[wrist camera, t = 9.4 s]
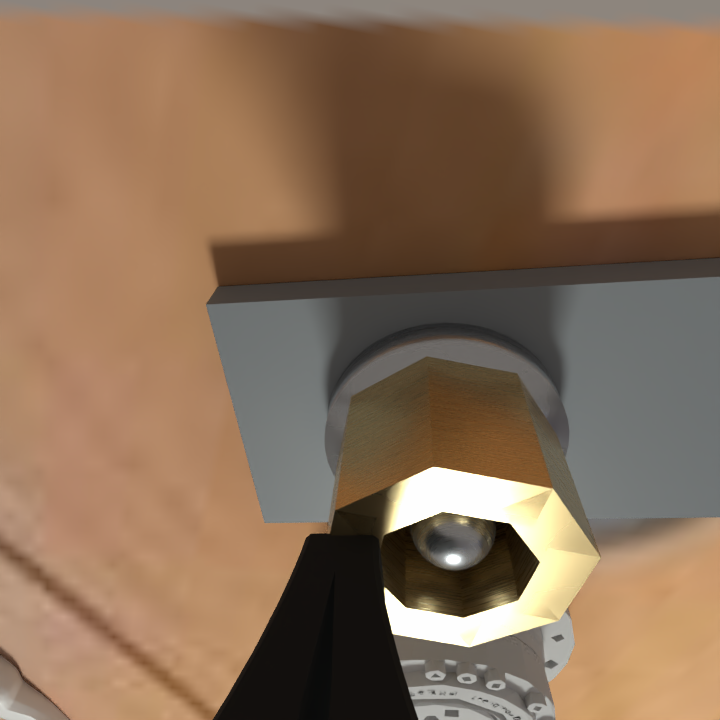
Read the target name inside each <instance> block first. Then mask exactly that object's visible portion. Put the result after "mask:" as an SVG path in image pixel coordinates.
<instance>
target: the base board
mask: <svg viewBox="0 0 720 720" xmlns="http://www.w3.org/2000/svg"><path fill="white" fill-rule="evenodd" d="M206 306H207V310H208V314H209V317H210V321H211V325H212V329H213V332H214V336H215V340H216V343H217V347H218V351H219V355H220V358H221V362H222V366H223V370H224V373H225V377H226V381H227V384H228V388H229V392H230V396H231V399H232V403H233V407H234V411H235V414H236V418H237V422H238V425H239V429H240V433H241V437H242V440H243V444H244V448H245V452H246V455H247V459H248V463H249V466H250V470H251V474H252V478H253V481H254V485H255V489H256V493H257V496H258V500H259V504H260V507H261V511H262V515H263V519H264V522H265V523H298V522H328V521H329V514H330V508H331V501H332V495H333V488H334V482H335V476H334V475H333V473H332V471H331V468H330V466H329V464H328V461H327V457H326V453H325V443H324V436H325V427H326V421H327V415H328V410H329V404H330V400H331V396H332V392H333V390H334V387H335V385H336V383H337V381H338V379H339V377H340V376H341V374H342V373H343V371H344V370H345V368H346V367H347V366H348V365H349V364H350V363H351V361H352V360H353V359H354V358H355V357H356V356H358V355H359V354H360V353H361V352H362V351H363V350H365V349H366V348H367V347H369V346H370V345H372V344H373V343H375V342H376V341H378V340H380V339H382V338H384V337H386V336H388V335H390V334H392V333H395V332H398V331H401V330H404V329H407V328H411V327H415V326H420V325H425V324H434V323H462V324H470V325H476V326H480V327H484V328H488V329H491V330H494V331H496V332H499V333H502V334H504V335H506V336H508V337H510V338H512V339H514V340H516V341H517V342H519V343H520V344H522V345H523V346H524V347H526V348H527V349H529V350H530V351H531V352H532V353H533V354H534V355H535V356H536V357H537V358H538V359H539V360H540V361H541V362H542V364H543V365H544V366H545V368H546V369H547V371H548V372H549V374H550V376H551V378H552V380H553V382H554V384H555V387H556V389H557V391H558V394H559V396H560V398H561V401H562V403H563V406H564V408H565V411H566V415H567V418H568V424H569V432H570V433H569V446H568V450H567V454H566V458H565V459H566V462H567V464H568V467H569V470H570V473H571V476H572V478H573V481H574V484H575V487H576V489H577V492H578V495H579V498H580V501H581V503H582V506H583V509H584V512H585V514H586V517H587V519H616V518H696V517H720V258H708V259H691V260H673V261H656V262H639V263H621V264H604V265H586V266H569V267H552V268H534V269H517V270H499V271H482V272H464V273H447V274H430V275H412V276H395V277H377V278H360V279H342V280H325V281H308V282H290V283H273V284H255V285H238V286H220V287H217V289H216V290H215V292H214V293H213V295H212V296H211V298H210V299H209V301H208V302H207V304H206Z"/></svg>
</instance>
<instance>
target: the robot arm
mask: <svg viewBox="0 0 720 720" xmlns="http://www.w3.org/2000/svg"><path fill="white" fill-rule="evenodd" d="M213 720H418V717H417V714H416V711H415V708H414V705H413V702H412V698H411V695H410V692H409V689H408V686H407V682H406V679H405V676H404V673H403V669H402V666H401V662H400V659H399V655H398V652H397V648H396V644H395V640H394V636H393V632H392V628H391V624H390V620H389V616H388V612H387V607H386V602H385V591H384V579H383V569H382V560H381V550H380V544H379V539H378V538H377V537H375V536H374V535H330V534H310V535H309V536H308V537H307V538H306V540H305V542H304V545H303V548H302V550H301V553H300V556H299V558H298V560H297V563H296V565H295V568H294V570H293V572H292V575H291V577H290V579H289V581H288V583H287V586H286V588H285V590H284V592H283V594H282V596H281V598H280V600H279V603H278V605H277V607H276V609H275V610H274V612H273V614H272V616H271V618H270V620H269V622H268V624H267V626H266V628H265V630H264V632H263V634H262V636H261V638H260V640H259V642H258V644H257V645H256V647H255V649H254V651H253V653H252V654H251V656H250V658H249V660H248V661H247V663H246V665H245V667H244V668H243V670H242V672H241V674H240V675H239V677H238V679H237V680H236V682H235V684H234V686H233V687H232V689H231V691H230V693H229V694H228V696H227V698H226V699H225V701H224V703H223V704H222V706H221V707H220V709H219V711H218V712H217V714H216V715H215V717H214V719H213Z"/></svg>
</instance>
